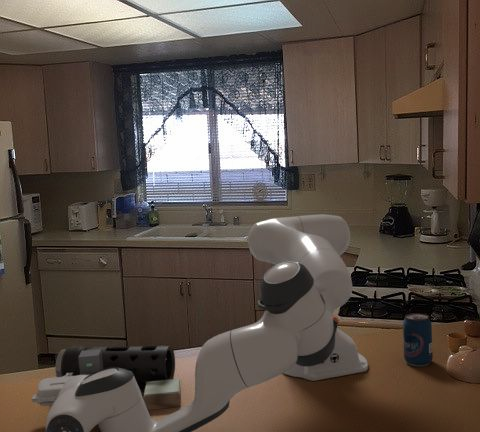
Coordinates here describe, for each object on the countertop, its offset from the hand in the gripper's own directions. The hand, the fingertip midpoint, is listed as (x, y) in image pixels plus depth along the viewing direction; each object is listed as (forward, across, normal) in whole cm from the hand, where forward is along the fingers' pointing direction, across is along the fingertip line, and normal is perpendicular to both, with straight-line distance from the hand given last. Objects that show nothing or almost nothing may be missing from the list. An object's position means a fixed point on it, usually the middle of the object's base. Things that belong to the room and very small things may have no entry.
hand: (91, 373), depth 134 cm
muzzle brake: (+9, +4, -7) cm, 12 cm away
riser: (-3, +16, -7) cm, 18 cm away
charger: (0, 0, -7) cm, 7 cm away
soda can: (+5, +80, -7) cm, 81 cm away
